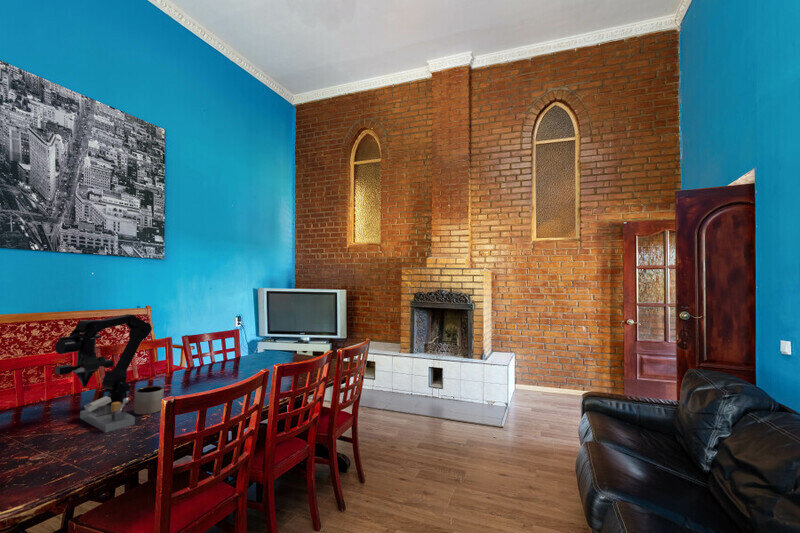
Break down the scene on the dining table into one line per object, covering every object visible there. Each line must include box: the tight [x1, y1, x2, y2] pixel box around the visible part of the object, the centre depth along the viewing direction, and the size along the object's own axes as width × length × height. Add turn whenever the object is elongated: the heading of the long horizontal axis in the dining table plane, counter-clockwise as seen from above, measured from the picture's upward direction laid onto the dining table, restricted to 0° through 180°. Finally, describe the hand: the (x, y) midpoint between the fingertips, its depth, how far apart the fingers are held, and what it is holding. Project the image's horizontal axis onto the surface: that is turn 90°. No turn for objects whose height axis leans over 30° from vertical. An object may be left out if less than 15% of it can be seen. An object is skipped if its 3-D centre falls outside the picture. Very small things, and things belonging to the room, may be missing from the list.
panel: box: [79, 404, 136, 433], centre depth 158 cm, size 10×24×5 cm, turn 58°
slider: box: [111, 402, 121, 412], centre depth 160 cm, size 2×3×4 cm
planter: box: [133, 385, 165, 416], centre depth 171 cm, size 11×11×10 cm
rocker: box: [84, 395, 112, 412], centre depth 162 cm, size 8×4×2 cm, turn 148°
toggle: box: [114, 397, 130, 416], centre depth 154 cm, size 2×2×8 cm
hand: (84, 387), depth 163 cm, fingers closed
